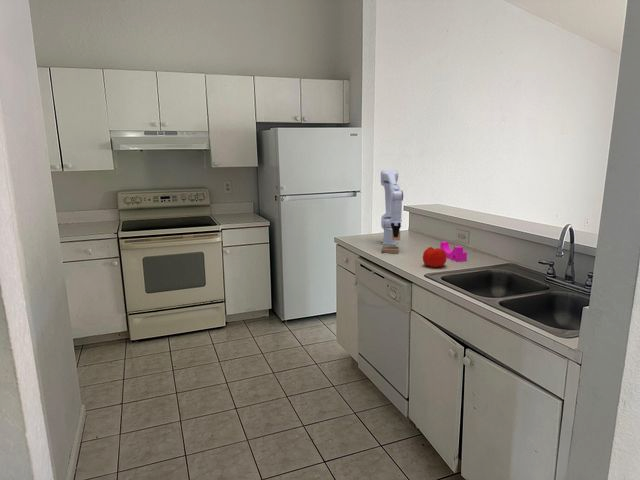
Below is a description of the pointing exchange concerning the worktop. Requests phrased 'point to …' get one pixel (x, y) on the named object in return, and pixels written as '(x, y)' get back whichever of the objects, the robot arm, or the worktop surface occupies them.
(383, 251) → the walnut block
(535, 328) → the worktop surface
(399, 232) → the terracotta block
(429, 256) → the tomato
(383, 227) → the robot arm
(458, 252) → the toy block
